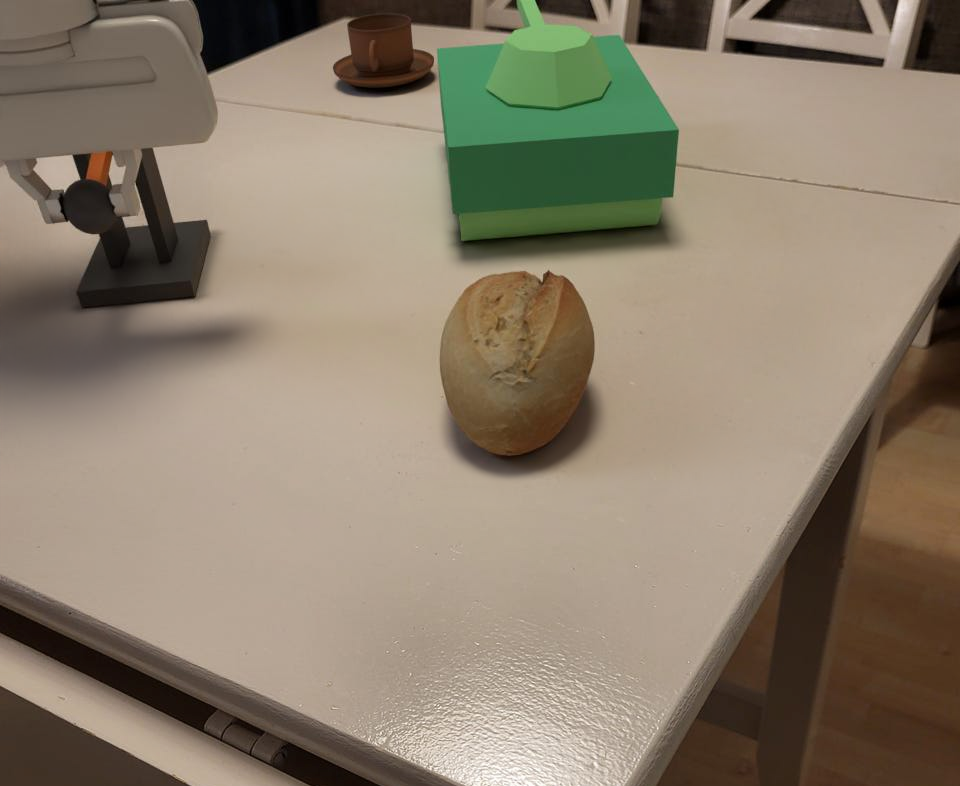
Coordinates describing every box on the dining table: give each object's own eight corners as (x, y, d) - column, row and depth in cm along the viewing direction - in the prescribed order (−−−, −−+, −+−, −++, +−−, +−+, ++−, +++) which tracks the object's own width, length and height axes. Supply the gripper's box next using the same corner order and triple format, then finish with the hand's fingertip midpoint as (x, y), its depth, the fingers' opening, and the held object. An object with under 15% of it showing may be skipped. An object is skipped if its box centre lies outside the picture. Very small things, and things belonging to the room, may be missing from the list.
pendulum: (122, 242, 69) (104, 195, 66) (71, 247, 68) (50, 200, 65) (140, 141, 76) (124, 95, 73) (94, 145, 76) (76, 99, 73)
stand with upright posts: (195, 296, 77) (147, 126, 68) (81, 307, 77) (18, 138, 68) (210, 234, 86) (170, 76, 77) (108, 244, 86) (56, 86, 77)
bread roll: (586, 341, 69) (589, 229, 63) (599, 466, 58) (604, 345, 52) (451, 346, 69) (441, 236, 64) (439, 471, 58) (426, 352, 53)
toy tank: (608, -29, 97) (683, 76, 71) (603, 104, 105) (669, 239, 80) (431, -16, 96) (444, 93, 71) (440, 116, 105) (455, 256, 80)
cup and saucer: (444, 88, 112) (440, 27, 108) (342, 101, 111) (333, 41, 106) (425, 60, 121) (420, 3, 117) (329, 73, 119) (321, 15, 115)
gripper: (195, -36, 62) (244, 186, 71) (-131, -8, 61) (-38, 212, 71) (183, -13, 57) (237, 221, 67) (-170, 17, 56) (-64, 249, 66)
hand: (93, 217), depth 69 cm, fingers closed on pendulum, 3 cm apart
